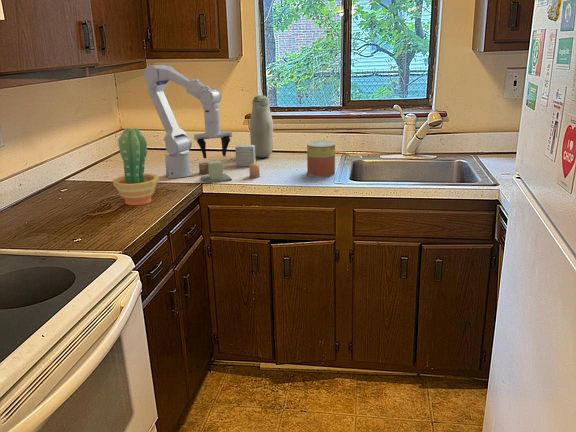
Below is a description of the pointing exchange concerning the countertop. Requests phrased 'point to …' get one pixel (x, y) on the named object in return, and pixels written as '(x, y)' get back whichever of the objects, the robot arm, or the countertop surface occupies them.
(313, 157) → the canned food
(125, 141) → the potted cactus
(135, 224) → the countertop surface
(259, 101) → the grey-green bottle
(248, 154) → the medicine box
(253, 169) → the terracotta capsule
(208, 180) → the slate mat
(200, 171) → the walnut cube
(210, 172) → the sage green block
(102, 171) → the countertop surface
